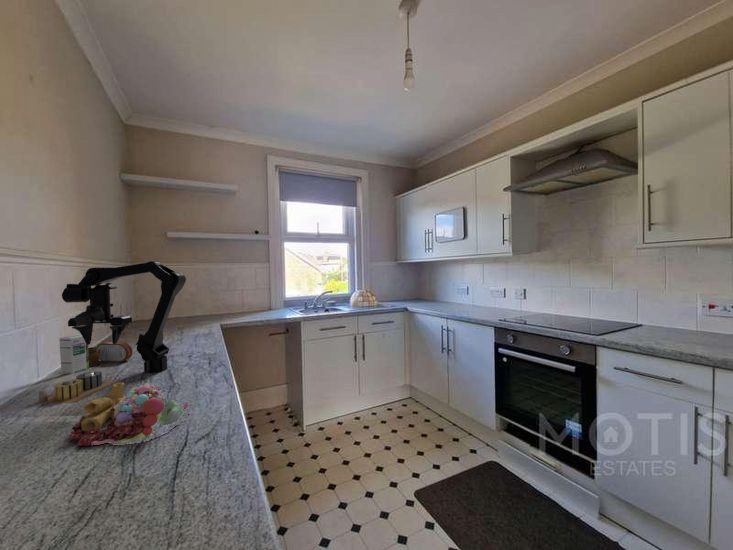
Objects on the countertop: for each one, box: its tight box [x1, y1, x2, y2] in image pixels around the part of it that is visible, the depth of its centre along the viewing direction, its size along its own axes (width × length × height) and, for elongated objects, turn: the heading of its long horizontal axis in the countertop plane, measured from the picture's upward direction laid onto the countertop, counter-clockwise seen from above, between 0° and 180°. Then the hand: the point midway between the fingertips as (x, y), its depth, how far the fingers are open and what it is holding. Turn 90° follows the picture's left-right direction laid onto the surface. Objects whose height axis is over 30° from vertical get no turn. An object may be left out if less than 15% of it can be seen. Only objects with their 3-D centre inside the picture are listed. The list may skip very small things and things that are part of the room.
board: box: [33, 379, 118, 405], centre depth 98 cm, size 12×16×6 cm
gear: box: [75, 370, 103, 390], centre depth 101 cm, size 6×6×4 cm
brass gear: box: [53, 379, 83, 401], centre depth 94 cm, size 6×6×4 cm
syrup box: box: [58, 333, 90, 376], centre depth 117 cm, size 6×6×14 cm
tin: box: [96, 340, 133, 363], centre depth 133 cm, size 15×3×8 cm, turn 85°
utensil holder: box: [88, 338, 100, 368], centre depth 127 cm, size 6×6×12 cm
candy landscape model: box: [67, 381, 189, 447], centre depth 81 cm, size 25×24×9 cm
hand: (101, 344), depth 114 cm, fingers open, 9 cm apart
